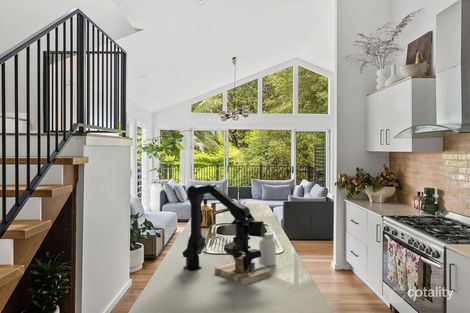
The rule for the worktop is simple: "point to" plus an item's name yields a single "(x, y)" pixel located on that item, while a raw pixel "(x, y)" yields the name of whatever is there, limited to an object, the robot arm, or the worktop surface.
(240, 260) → the block
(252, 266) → the cover
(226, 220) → the worktop surface
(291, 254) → the worktop surface
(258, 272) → the wooden board with hole
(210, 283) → the worktop surface
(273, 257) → the pill bottle
